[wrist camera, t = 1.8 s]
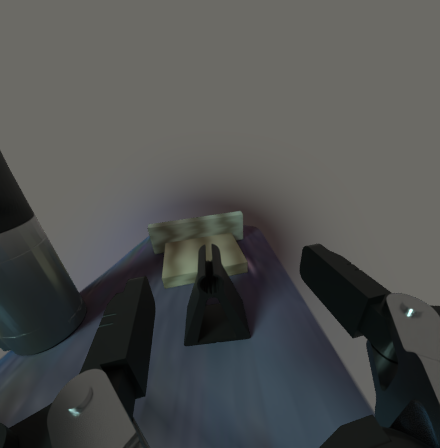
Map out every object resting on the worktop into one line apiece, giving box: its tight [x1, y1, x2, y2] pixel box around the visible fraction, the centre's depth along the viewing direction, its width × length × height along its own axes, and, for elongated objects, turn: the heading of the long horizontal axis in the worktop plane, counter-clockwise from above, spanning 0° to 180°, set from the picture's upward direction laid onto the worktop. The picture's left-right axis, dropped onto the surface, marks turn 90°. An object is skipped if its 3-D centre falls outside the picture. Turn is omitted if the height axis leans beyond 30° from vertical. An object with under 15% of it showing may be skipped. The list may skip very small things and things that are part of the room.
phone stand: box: [184, 244, 250, 346], centre depth 25 cm, size 9×6×12 cm, turn 94°
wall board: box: [148, 211, 248, 288], centre depth 40 cm, size 22×14×7 cm, turn 102°
